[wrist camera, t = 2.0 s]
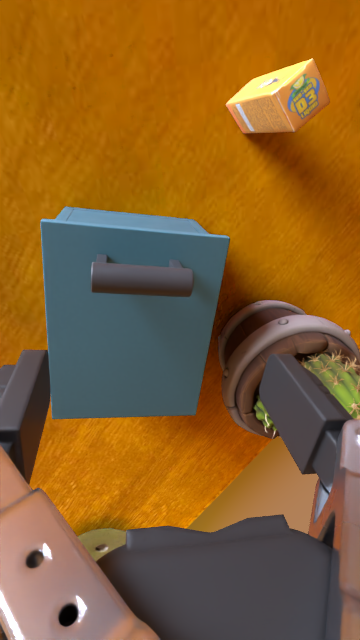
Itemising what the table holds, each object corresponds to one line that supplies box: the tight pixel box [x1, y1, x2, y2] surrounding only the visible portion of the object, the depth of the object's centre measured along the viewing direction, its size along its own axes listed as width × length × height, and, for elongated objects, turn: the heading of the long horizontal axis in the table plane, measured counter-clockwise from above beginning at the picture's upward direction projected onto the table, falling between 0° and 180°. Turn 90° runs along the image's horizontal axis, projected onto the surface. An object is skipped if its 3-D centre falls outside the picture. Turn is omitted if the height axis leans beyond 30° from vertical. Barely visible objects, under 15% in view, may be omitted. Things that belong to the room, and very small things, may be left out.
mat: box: [78, 528, 126, 562], centre depth 56 cm, size 11×11×2 cm
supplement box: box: [226, 59, 330, 134], centre depth 26 cm, size 3×4×10 cm
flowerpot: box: [218, 300, 360, 439], centre depth 34 cm, size 14×15×20 cm
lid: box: [41, 219, 230, 419], centre depth 25 cm, size 17×13×5 cm
